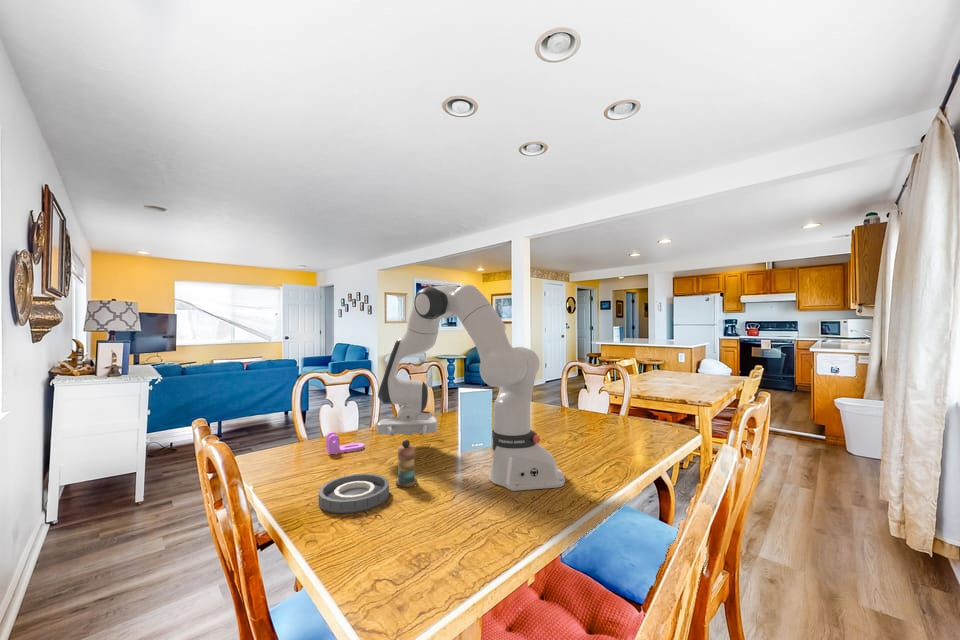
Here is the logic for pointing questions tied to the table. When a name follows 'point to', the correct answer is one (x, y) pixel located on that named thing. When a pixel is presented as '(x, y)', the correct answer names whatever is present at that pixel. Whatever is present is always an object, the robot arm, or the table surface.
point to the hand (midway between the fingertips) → (406, 432)
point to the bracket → (335, 447)
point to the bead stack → (406, 466)
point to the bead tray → (353, 493)
